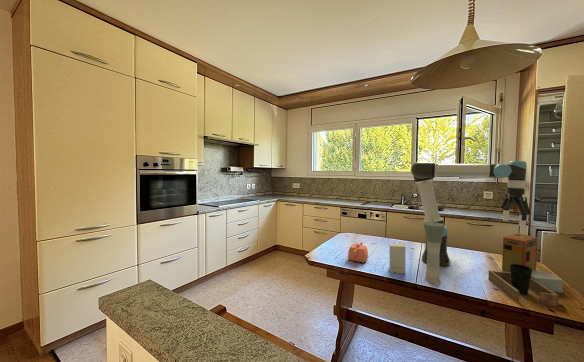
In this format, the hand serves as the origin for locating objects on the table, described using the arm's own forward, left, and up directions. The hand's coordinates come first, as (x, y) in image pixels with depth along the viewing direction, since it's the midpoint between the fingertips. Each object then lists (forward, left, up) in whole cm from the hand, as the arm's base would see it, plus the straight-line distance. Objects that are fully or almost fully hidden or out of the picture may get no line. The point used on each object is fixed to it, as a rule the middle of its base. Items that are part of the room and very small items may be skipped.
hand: (513, 223), depth 141 cm
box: (0, -7, -27) cm, 27 cm away
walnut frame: (-15, -33, -26) cm, 45 cm away
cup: (-15, -33, -26) cm, 45 cm away
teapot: (-88, -9, -27) cm, 93 cm away
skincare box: (-67, -22, -27) cm, 76 cm away
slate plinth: (-1, -24, -26) cm, 36 cm away
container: (-51, -30, -26) cm, 65 cm away
